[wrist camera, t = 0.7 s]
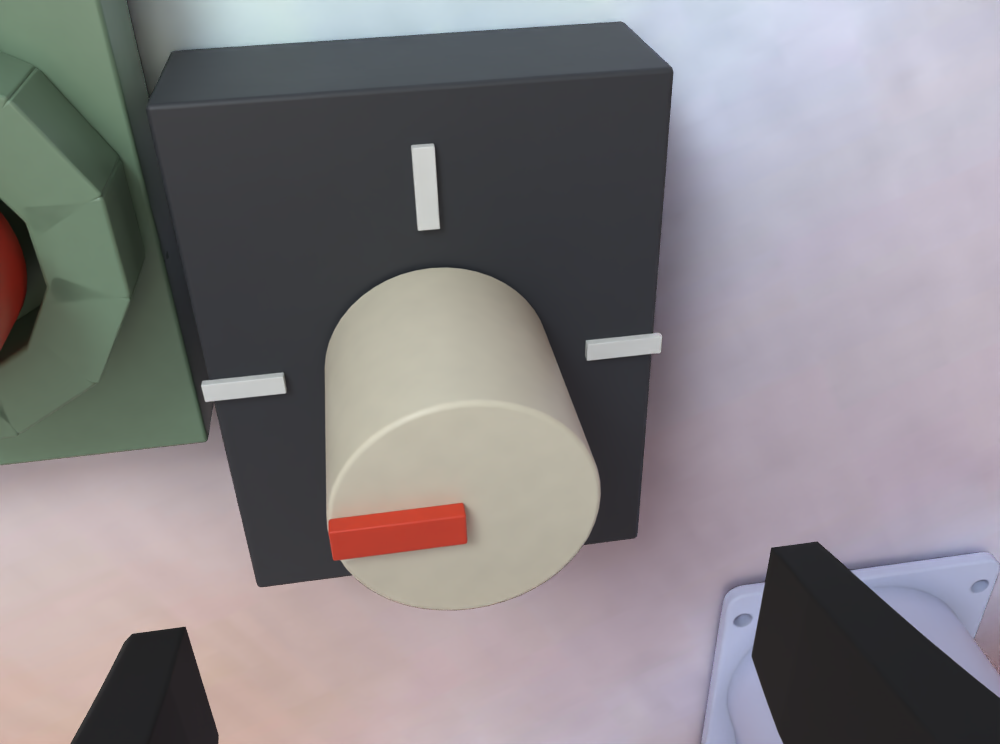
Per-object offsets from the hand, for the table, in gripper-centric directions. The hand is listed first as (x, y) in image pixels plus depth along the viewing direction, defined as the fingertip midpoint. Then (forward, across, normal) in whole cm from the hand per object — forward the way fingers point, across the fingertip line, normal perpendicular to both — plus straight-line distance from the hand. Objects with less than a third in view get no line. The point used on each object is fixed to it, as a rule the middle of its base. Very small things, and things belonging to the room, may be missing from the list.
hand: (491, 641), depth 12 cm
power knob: (+6, 0, 0) cm, 6 cm away
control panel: (+9, 0, 0) cm, 9 cm away
